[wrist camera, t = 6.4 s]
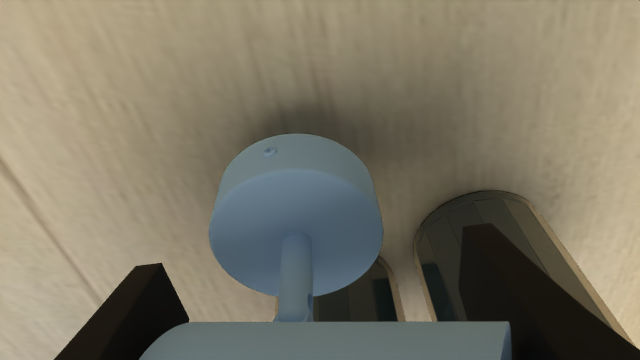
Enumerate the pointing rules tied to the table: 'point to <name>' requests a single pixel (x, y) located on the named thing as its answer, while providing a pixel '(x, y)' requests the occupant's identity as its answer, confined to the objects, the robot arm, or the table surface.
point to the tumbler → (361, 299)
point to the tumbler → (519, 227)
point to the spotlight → (310, 264)
